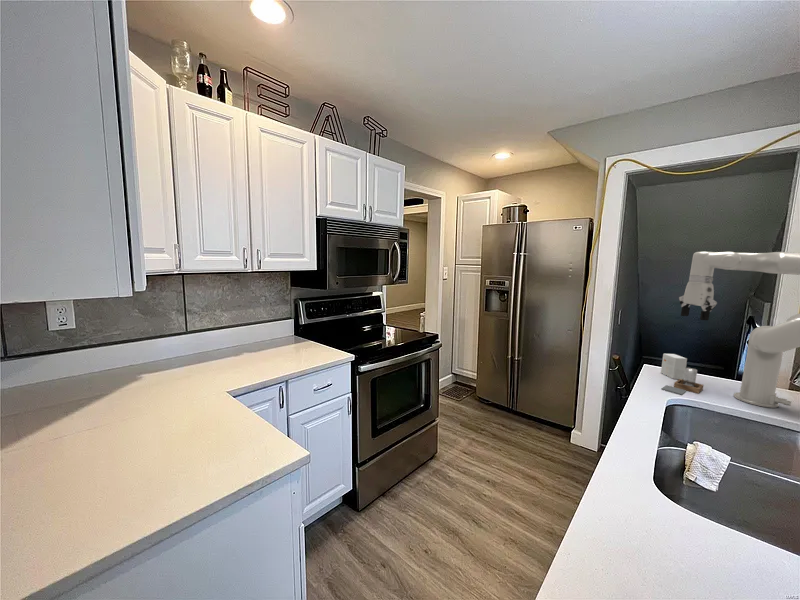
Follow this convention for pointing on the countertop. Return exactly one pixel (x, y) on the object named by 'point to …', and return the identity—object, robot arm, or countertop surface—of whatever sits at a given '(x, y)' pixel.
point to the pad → (673, 390)
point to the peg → (690, 377)
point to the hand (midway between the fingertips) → (694, 317)
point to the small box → (673, 366)
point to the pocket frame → (680, 385)
